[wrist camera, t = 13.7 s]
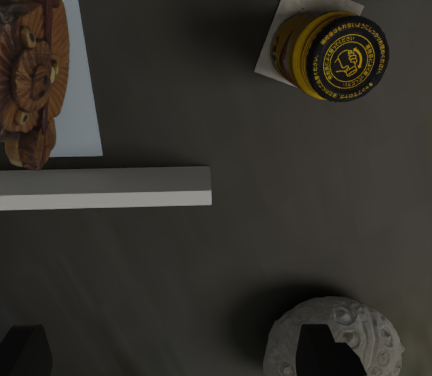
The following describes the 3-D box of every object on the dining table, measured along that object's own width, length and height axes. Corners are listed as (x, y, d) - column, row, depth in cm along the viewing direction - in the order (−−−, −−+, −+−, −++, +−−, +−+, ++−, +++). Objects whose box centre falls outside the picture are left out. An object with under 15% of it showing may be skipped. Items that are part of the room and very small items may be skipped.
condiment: (253, 71, 33) (279, 95, 22) (290, -26, 30) (341, -52, 19) (320, 96, 34) (375, 129, 24) (362, 6, 31) (449, -3, 20)
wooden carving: (77, 156, 36) (36, 201, 27) (31, 149, 35) (-26, 193, 26) (79, -25, 29) (25, -46, 20) (22, -37, 28) (-60, -64, 19)
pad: (-14, -36, 28) (-15, -36, 28) (72, -36, 29) (71, -37, 29) (35, 156, 36) (34, 157, 36) (102, 155, 36) (102, 155, 36)
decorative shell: (408, 315, 48) (455, 382, 39) (322, 385, 54) (346, 457, 45) (315, 259, 43) (345, 321, 34) (232, 342, 49) (239, 414, 40)
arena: (-163, -206, 24) (-268, -272, 18) (203, -201, 25) (204, -262, 19) (-27, 184, 37) (-66, 211, 32) (209, 178, 38) (211, 204, 32)
